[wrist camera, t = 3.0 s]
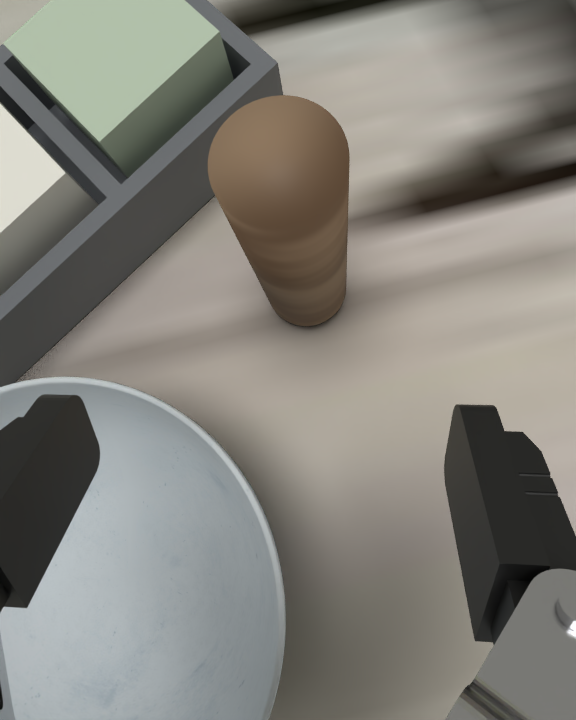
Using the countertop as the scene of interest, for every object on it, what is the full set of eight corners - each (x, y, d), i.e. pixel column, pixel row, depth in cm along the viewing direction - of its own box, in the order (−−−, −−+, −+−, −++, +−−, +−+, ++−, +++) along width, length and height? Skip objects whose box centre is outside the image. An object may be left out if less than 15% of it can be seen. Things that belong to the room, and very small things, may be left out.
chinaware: (-67, 657, 24) (-255, 756, 17) (60, 354, 26) (-57, 317, 18) (232, 804, 22) (174, 995, 14) (350, 461, 24) (354, 470, 16)
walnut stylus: (255, 293, 25) (179, 163, 13) (308, 243, 25) (280, 69, 14) (306, 346, 25) (274, 256, 13) (361, 293, 25) (379, 157, 13)
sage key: (49, 97, 25) (2, 43, 22) (147, 7, 25) (117, -60, 22) (133, 185, 24) (99, 141, 21) (236, 89, 24) (219, 31, 21)
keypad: (-198, 338, 27) (-302, 318, 23) (161, 10, 28) (128, -70, 24) (-92, 481, 26) (-184, 490, 21) (288, 126, 26) (277, 62, 22)
